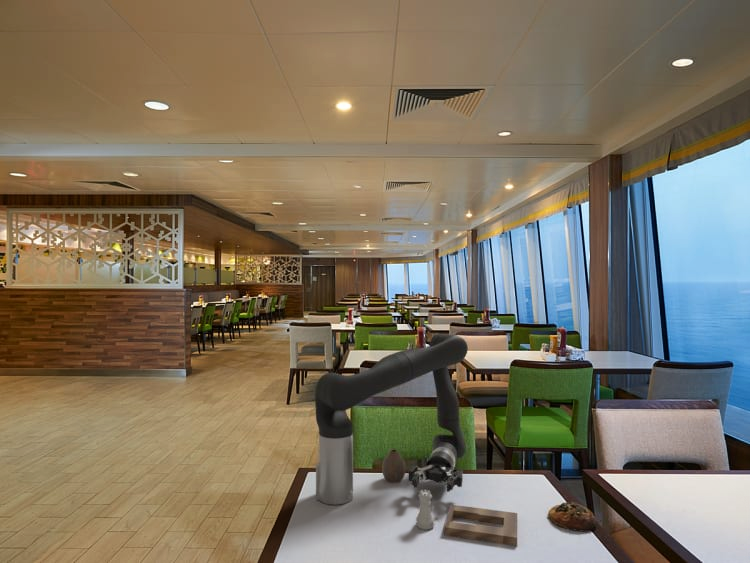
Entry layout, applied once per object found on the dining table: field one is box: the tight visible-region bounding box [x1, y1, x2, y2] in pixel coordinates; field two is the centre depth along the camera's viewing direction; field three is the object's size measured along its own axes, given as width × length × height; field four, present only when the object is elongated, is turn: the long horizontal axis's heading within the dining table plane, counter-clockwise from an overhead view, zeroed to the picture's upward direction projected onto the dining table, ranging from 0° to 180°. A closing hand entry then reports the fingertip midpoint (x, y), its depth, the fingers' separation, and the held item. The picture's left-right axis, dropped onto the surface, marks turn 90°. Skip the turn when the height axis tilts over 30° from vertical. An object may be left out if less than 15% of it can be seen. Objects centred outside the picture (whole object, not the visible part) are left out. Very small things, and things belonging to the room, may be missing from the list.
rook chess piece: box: [415, 489, 435, 531], centre depth 112 cm, size 4×4×8 cm
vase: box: [381, 448, 406, 484], centre depth 139 cm, size 7×7×9 cm
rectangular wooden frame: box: [443, 504, 518, 547], centre depth 111 cm, size 16×12×2 cm
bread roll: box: [547, 501, 597, 532], centre depth 115 cm, size 11×11×5 cm
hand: (431, 485), depth 120 cm, fingers open, 8 cm apart
